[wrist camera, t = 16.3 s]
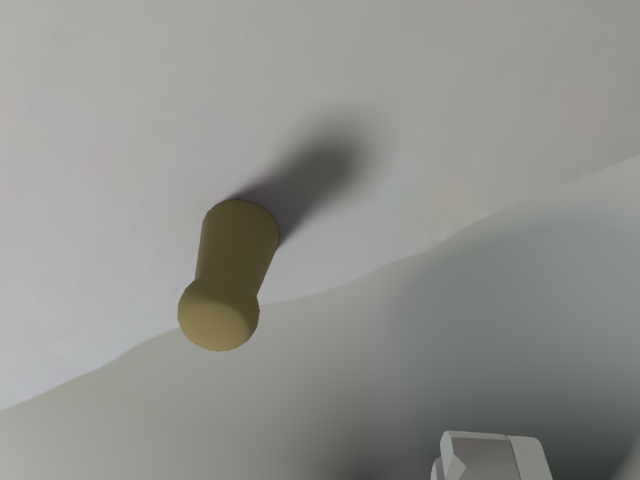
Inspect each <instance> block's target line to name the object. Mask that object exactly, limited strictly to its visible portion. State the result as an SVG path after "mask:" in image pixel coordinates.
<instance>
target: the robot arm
mask: <svg viewBox="0 0 640 480" xmlns="http://www.w3.org/2000/svg"><path fill="white" fill-rule="evenodd" d="M440 448H441V455H442V456H441V457H439V458H438V459H436V460H435V462H434V465H433V469H432V473H431V480H553V479H552V476H551V473H550V470H549V467H548V464H547V461H546V458H545V455H544V452H543V449H542V446H541V444H540V442H539V441H538V440H537V439H536V438H532V437H518V436H504V435H502V434H487V433H474V432H460V431H446V432H445V433H444V434H443V436H442V439H441V442H440Z"/></svg>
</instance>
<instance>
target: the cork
mask: <svg viewBox="0 0 640 480" xmlns="http://www.w3.org/2000/svg"><path fill="white" fill-rule="evenodd" d="M279 236H280V234H279V229H278V225H277V223H276V221H275V220H274V218H273V216H272V215H271V214H270V213H269V212H268V211H266V210H265V209H264V208H263V207H261V206H259V205H257V204H255V203H253V202H249V201H244V200H229V201H225V202H222V203H220V204H217V205H215V206H214V207H213V208H212V209H211V210H210V211H208V212H207V214H206V216H205V218H204V220H203V224H202V231H201V238H200V245H199V252H198V260H197V267H196V274H195V281H193V282H192V283H191V284H190V285H189V286H188V287H187V288H186V289H185V291H184V293H183V295H182V296H181V298H180V301H179V303H178V321H179V324H180V327H181V329H182V331H183V333H184V334H185V336H186V337H187V338H188V339H189V340H190V341H191V342H193V343H194V344H195V345H197V346H199V347H202V348H204V349H207V350H212V351H229V350H232V349H235V348H238V347H239V346H241V345H242V344H243V343H244V342H246V341H248V340H249V339H250V337H251V336H252V334H253V333H254V331H255V330H256V328H257V325H258V319H259V313H260V310H259V305H258V300H257V294H258V291H259V289H260V287H261V284H262V282H263V279H264V277H265V275H266V272H267V270H268V268H269V265H270V263H271V260H272V258H273V256H274V253H275V251H276V248H277V246H278V242H279Z"/></svg>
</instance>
